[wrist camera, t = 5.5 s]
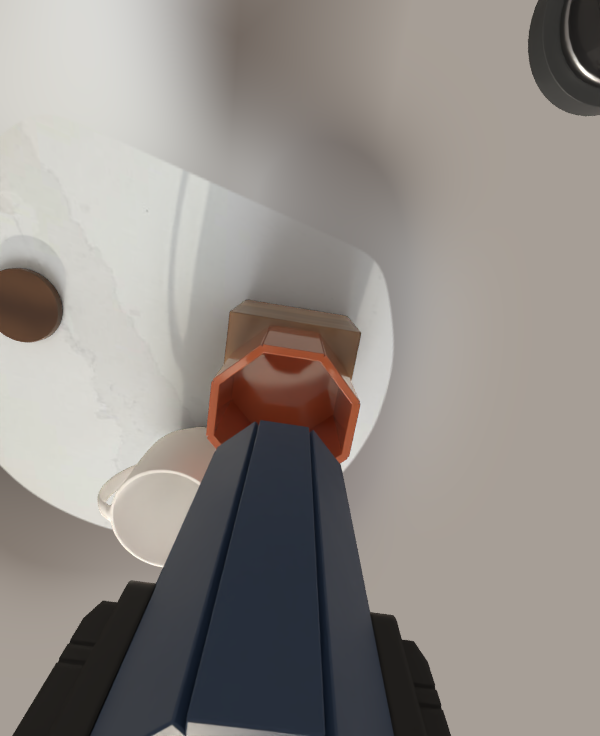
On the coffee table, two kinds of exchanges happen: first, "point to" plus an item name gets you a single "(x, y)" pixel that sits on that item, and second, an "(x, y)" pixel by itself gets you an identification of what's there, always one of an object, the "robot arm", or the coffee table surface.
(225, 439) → the terracotta cup
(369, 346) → the coffee table surface
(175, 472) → the mug
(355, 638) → the slate cup
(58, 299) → the coaster
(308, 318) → the riser
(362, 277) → the coffee table surface
